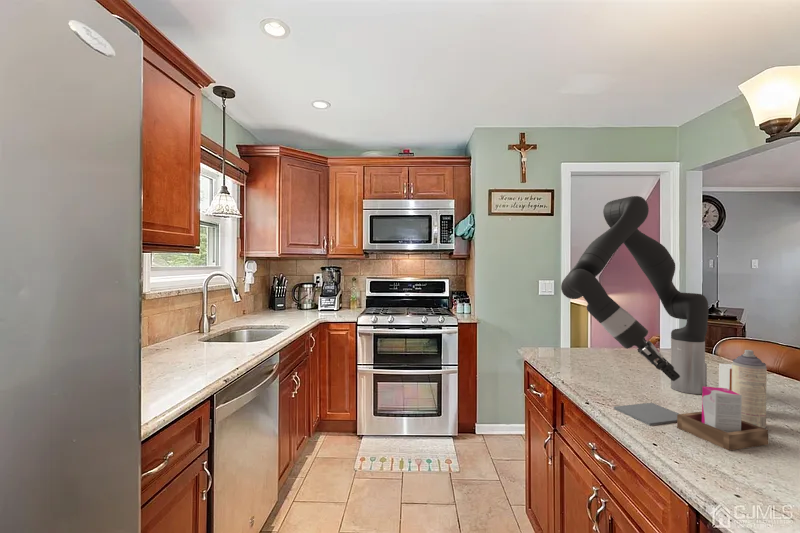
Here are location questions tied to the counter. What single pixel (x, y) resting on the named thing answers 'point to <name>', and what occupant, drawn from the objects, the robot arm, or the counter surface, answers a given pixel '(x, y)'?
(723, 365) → the small box
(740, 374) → the aerosol can
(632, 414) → the slate mat
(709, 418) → the supplement box
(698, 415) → the tray
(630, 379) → the counter surface
